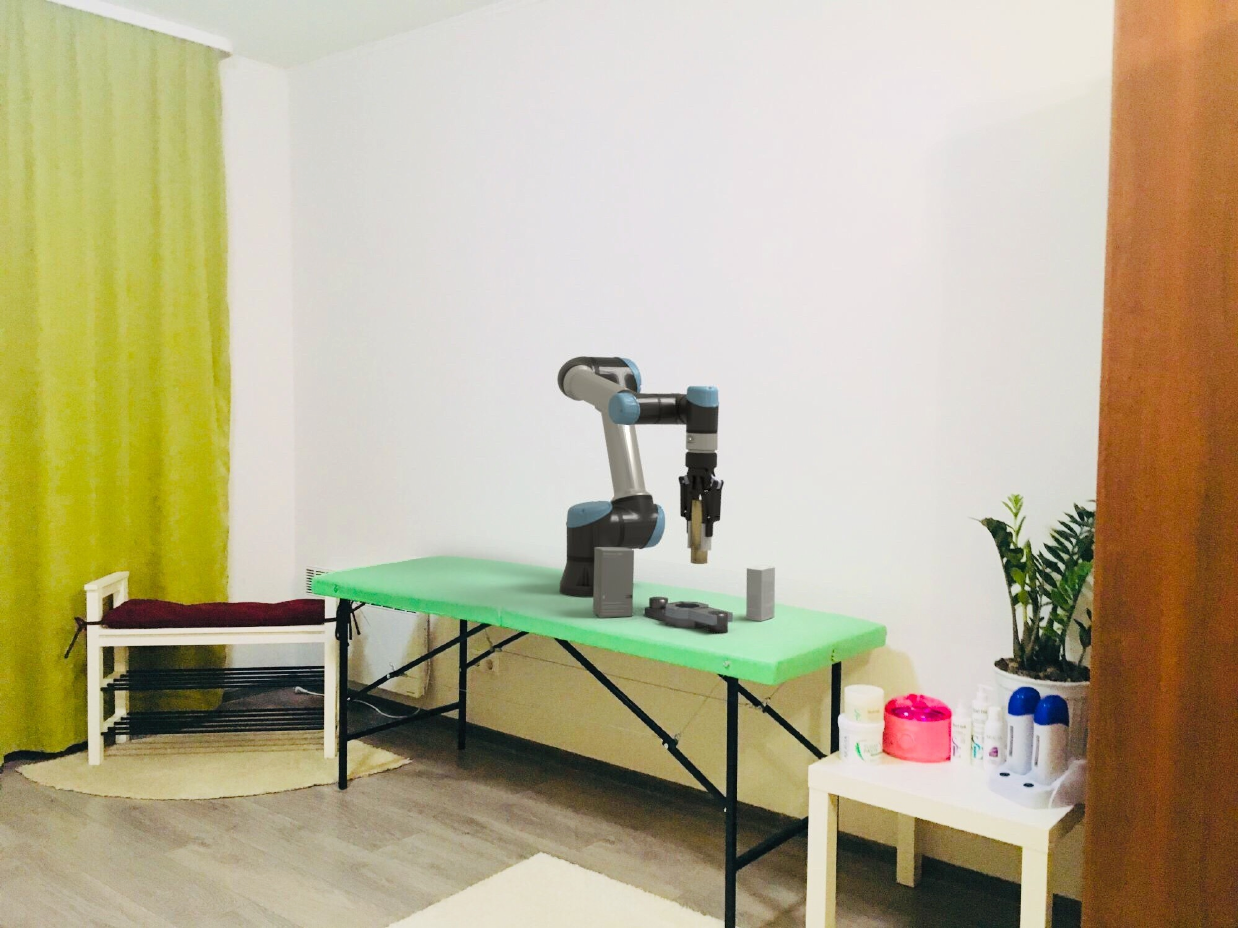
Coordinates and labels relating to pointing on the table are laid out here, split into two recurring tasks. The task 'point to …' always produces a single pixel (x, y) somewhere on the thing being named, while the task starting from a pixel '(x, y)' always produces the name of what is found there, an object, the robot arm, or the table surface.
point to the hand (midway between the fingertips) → (699, 548)
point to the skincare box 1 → (613, 581)
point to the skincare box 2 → (760, 593)
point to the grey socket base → (688, 614)
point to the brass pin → (697, 534)
